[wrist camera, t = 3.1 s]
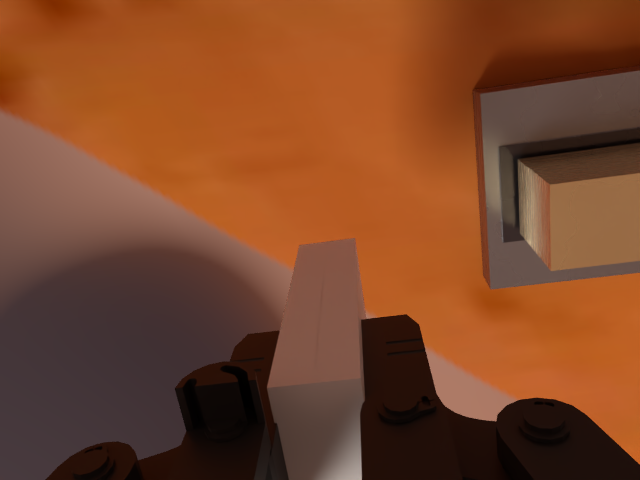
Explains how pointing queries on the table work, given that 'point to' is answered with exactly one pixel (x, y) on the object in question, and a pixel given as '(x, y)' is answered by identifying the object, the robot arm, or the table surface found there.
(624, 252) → the brass stepped block
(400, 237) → the table surface
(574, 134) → the lock plate
